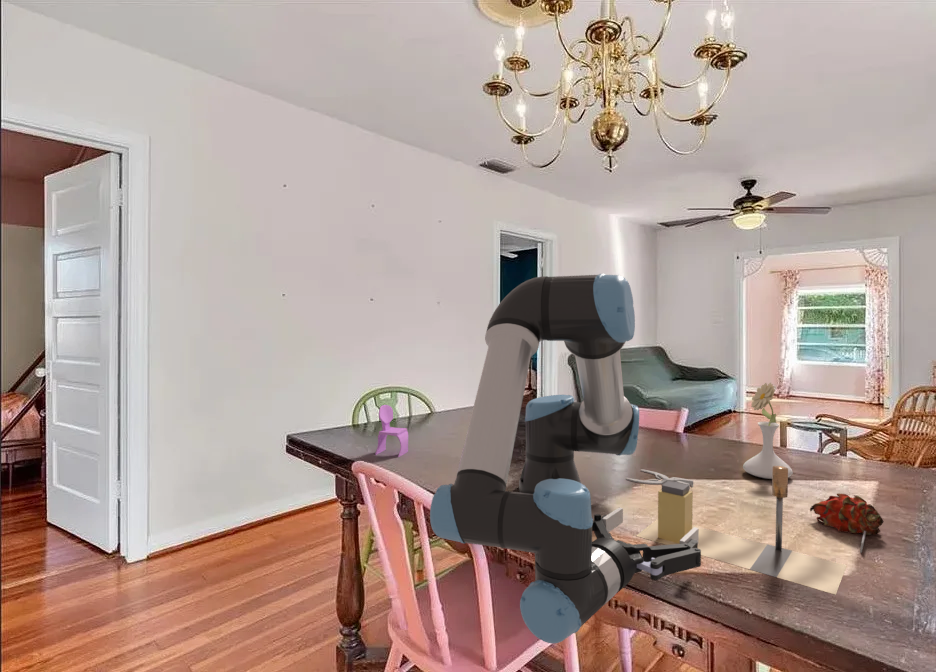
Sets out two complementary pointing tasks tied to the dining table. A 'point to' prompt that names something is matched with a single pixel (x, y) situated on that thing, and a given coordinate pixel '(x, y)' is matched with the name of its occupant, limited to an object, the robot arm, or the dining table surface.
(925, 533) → the dining table surface
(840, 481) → the dining table surface
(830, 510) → the dragon fruit
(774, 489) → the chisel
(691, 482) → the pliers
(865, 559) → the dining table surface
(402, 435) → the toy chair
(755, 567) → the plank
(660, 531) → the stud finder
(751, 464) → the flower in vase
